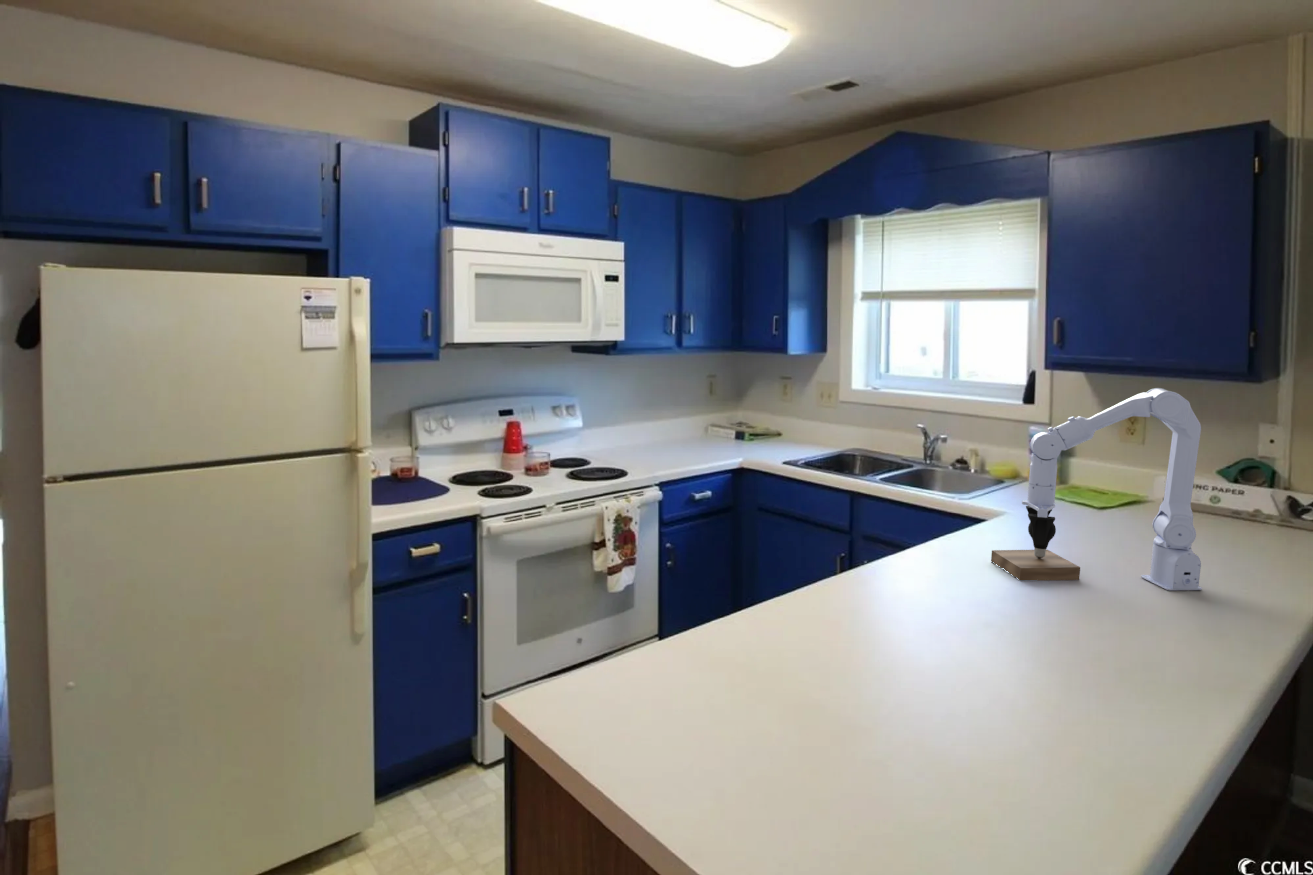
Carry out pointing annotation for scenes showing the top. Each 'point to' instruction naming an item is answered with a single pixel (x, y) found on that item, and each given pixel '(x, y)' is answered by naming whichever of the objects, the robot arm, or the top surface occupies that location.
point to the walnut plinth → (1035, 565)
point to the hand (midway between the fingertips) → (1037, 540)
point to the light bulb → (1041, 549)
